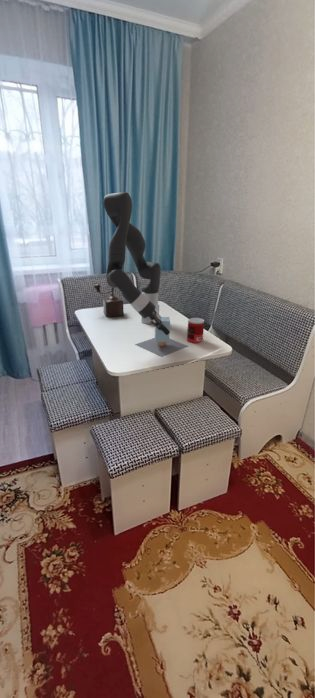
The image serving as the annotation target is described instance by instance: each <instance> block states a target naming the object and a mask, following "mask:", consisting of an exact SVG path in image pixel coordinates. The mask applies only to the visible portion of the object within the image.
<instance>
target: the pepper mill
mask: <svg viewBox="0 0 315 698" xmlns="http://www.w3.org/2000/svg"><path fill="white" fill-rule="evenodd" d="M93 289H95V291H96V292H95V293H98V294H100V295H105V294H109V293H111V294H110V296H108V297H103V298H102V302H103V303H102V305H103V312H102V313H103V315H104V316H105V317H106V318H116V317H117V318H119V317H124V300H123V299H122V298H121V297H120V296H116V295H114V294H115V293H114V292H115V288H113V287H111V290H109V291H108V290H107V291H103V292H102V291H101V285H100V284H99V283H96V284H94V286H93Z"/></svg>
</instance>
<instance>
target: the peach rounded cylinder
mask: <svg viewBox="0 0 315 698" xmlns="http://www.w3.org/2000/svg"><path fill="white" fill-rule="evenodd" d="M158 346H159V347H165V346H166V342H158Z"/></svg>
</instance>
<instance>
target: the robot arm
mask: <svg viewBox="0 0 315 698" xmlns="http://www.w3.org/2000/svg"><path fill="white" fill-rule="evenodd" d="M103 207H104V210H105V212H106V214H107V216H108V217H109V219H110V221H111V222H112V223H113V225H114V227H115V228H116V229H115V232H114V233H113V235H112V236H111V239H110V242H109V244H108V246H109V247H108V264H107V270H106V275H105V277H106V283H107V285H108V286H109V287H111V288H112V287H113V288H114V289H115V288H117V289H118V290H119V291H120V292H121V293H122V294H121V296H122V297H123V299H125V300H126V302H127V303H129V304H130V305H131V307H132V309H134V310H135V311H136V312H137V314H139V316H140V317H141V323H143V324H146V325H153V326H154V327H155V326H156V327H157V328H158V329H159V330H162V331H163V332H164V333H165V334H166V335H168V334H169V333H171V332H170V331H169V330H168V329H167V328H166V327H165V326H164V325H163V324H162V320H161V319H160V317H162V316H161V315H160V304H159V290H160V285H161V274H162V273H161V271H162V269H161V265H160V263H159V262H155V261H148V260H146V259H145V256H144V254H145V250H146V246H147V245H146V241H145V238H144V236H143V233H142V232H141V231H140V230H139V229H138V227H136V226H135V225H134V224H132V223H131V216H132V210H133V201H132V197H131V194H129V193H128V192H127V191H121V192H114V193H108V194H105V196H104V198H103ZM126 250H128V252H129V254H130V257H131V258H132V260H133V263H134V265H135V267H136V270H137V272H138V275H139V276H140V277H141V279H145V280H149V284H145V285H143V286H141V291H140V290H139V289H138V288H137V286H135V284H134V283H133V282H132V280H131V278H130V277H129V276H128V274H127V273H126V272H125V271H123V266H124V265H125V261H126ZM158 325H161V326H160V327H159V326H158ZM169 335H170V334H169Z"/></svg>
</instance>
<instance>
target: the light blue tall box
mask: <svg viewBox="0 0 315 698" xmlns="http://www.w3.org/2000/svg"><path fill="white" fill-rule="evenodd" d="M160 319H161V320H162V324H163V325H164V326H165V327H166V328H167V329H168V330H169V331H170V330H171V319H170V316H161V317H160ZM158 326H159V327H160V326H161V325H158ZM170 333H171V332H170ZM170 333H169V334H168V335H166V334H165V333H164V332H163V331H162V330H159V329H158V328H157V327H156V326H155V325H154V338H155V342H169V339H170Z"/></svg>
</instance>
